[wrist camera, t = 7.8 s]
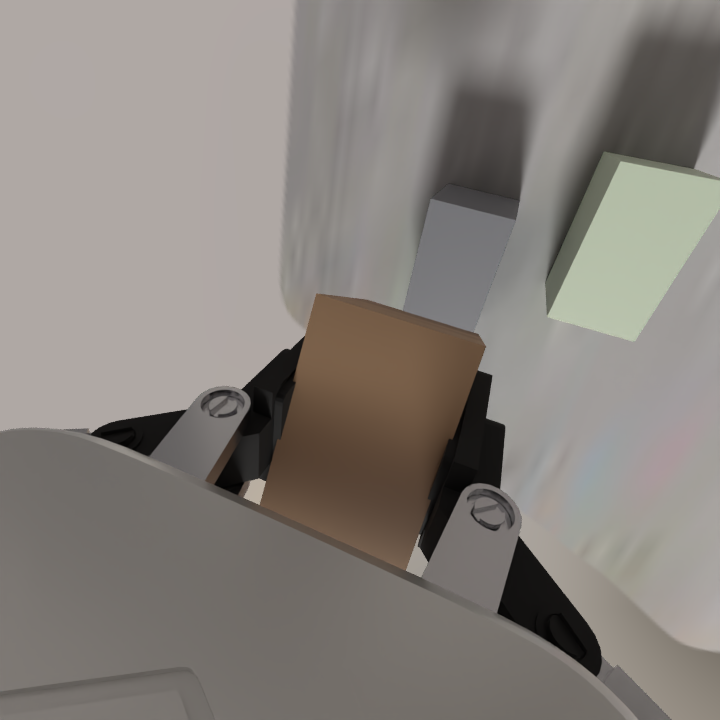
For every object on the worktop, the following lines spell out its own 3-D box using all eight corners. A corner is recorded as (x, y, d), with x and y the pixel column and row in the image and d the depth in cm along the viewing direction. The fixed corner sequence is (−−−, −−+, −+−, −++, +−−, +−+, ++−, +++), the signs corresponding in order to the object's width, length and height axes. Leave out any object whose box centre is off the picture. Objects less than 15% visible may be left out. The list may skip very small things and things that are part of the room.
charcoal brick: (449, 183, 23) (430, 198, 19) (519, 200, 22) (515, 220, 18) (419, 293, 27) (398, 325, 23) (478, 311, 26) (467, 348, 22)
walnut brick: (366, 299, 14) (316, 293, 9) (478, 333, 13) (486, 346, 9) (315, 475, 15) (248, 548, 11) (414, 516, 15) (389, 616, 10)
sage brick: (603, 151, 20) (620, 161, 16) (693, 168, 19) (735, 183, 15) (545, 282, 24) (547, 317, 20) (617, 301, 23) (634, 341, 19)
